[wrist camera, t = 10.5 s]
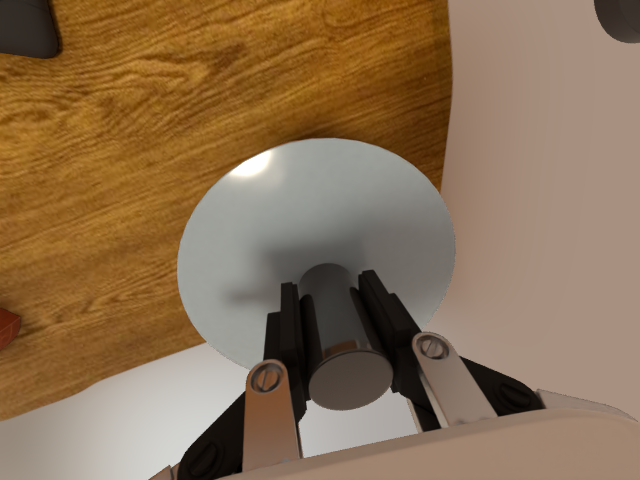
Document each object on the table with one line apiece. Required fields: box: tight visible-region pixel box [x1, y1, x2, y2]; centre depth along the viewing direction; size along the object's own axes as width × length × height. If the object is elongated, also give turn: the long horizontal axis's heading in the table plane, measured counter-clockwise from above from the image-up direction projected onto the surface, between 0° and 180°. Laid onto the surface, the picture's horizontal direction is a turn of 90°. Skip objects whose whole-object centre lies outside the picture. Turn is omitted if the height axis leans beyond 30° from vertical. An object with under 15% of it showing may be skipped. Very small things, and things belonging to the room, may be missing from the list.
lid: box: [177, 138, 456, 411], centre depth 11 cm, size 15×15×7 cm
